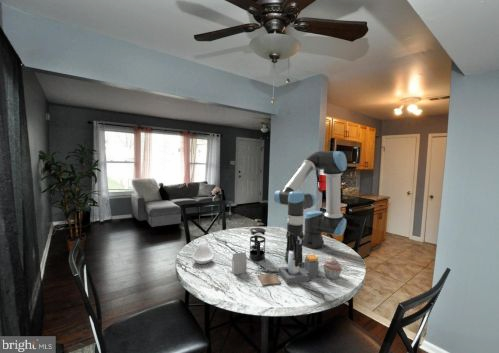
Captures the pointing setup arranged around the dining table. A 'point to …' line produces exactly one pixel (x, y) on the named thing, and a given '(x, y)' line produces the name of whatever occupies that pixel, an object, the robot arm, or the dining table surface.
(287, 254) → the coffee jar
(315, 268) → the housing
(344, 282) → the dining table surface
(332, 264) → the cupcake
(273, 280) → the pad
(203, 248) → the spoon rest
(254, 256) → the french press
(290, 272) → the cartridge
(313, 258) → the orange block
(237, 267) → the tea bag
